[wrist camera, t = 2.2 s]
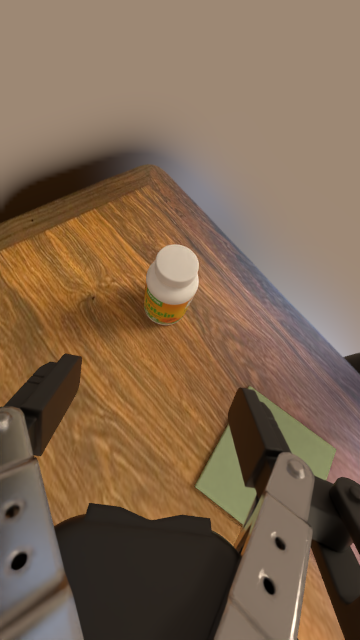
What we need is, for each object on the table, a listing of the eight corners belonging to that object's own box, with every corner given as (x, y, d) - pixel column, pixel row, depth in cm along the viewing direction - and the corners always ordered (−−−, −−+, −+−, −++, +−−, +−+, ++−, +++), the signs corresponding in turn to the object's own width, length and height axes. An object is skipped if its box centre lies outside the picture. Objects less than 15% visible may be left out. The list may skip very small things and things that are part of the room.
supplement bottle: (136, 315, 29) (137, 272, 20) (154, 281, 31) (162, 229, 22) (176, 333, 29) (194, 298, 20) (191, 298, 31) (214, 252, 23)
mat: (248, 386, 29) (249, 385, 28) (333, 448, 28) (336, 449, 27) (194, 485, 24) (195, 487, 23) (295, 565, 23) (297, 567, 23)
